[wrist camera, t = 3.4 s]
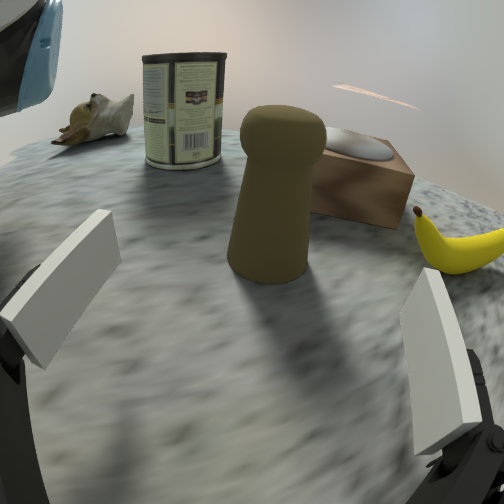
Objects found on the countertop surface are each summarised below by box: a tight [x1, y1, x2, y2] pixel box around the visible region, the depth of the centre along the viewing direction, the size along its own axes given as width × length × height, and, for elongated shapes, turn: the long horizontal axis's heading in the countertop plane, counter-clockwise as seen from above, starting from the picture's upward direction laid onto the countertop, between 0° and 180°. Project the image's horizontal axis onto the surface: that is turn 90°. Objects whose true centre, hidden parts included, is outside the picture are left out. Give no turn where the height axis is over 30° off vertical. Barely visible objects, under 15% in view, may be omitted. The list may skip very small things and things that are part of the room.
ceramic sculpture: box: [51, 93, 134, 146], centre depth 43 cm, size 11×9×15 cm
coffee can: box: [142, 52, 227, 170], centre depth 34 cm, size 10×10×14 cm
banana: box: [413, 206, 504, 274], centre depth 22 cm, size 3×19×6 cm, turn 101°
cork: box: [227, 105, 327, 284], centre depth 20 cm, size 6×6×11 cm
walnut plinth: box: [311, 127, 415, 230], centre depth 32 cm, size 12×12×6 cm
